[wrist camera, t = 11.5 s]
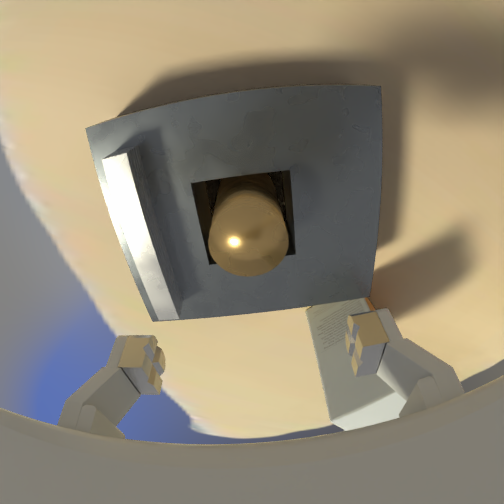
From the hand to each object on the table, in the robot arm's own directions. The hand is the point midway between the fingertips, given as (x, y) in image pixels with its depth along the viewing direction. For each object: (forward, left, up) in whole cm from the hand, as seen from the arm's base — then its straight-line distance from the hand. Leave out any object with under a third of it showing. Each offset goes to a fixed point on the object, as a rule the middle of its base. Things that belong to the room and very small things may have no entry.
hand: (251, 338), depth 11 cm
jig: (0, 0, -15) cm, 15 cm away
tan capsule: (0, 0, -15) cm, 15 cm away
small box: (-9, +15, -15) cm, 23 cm away
